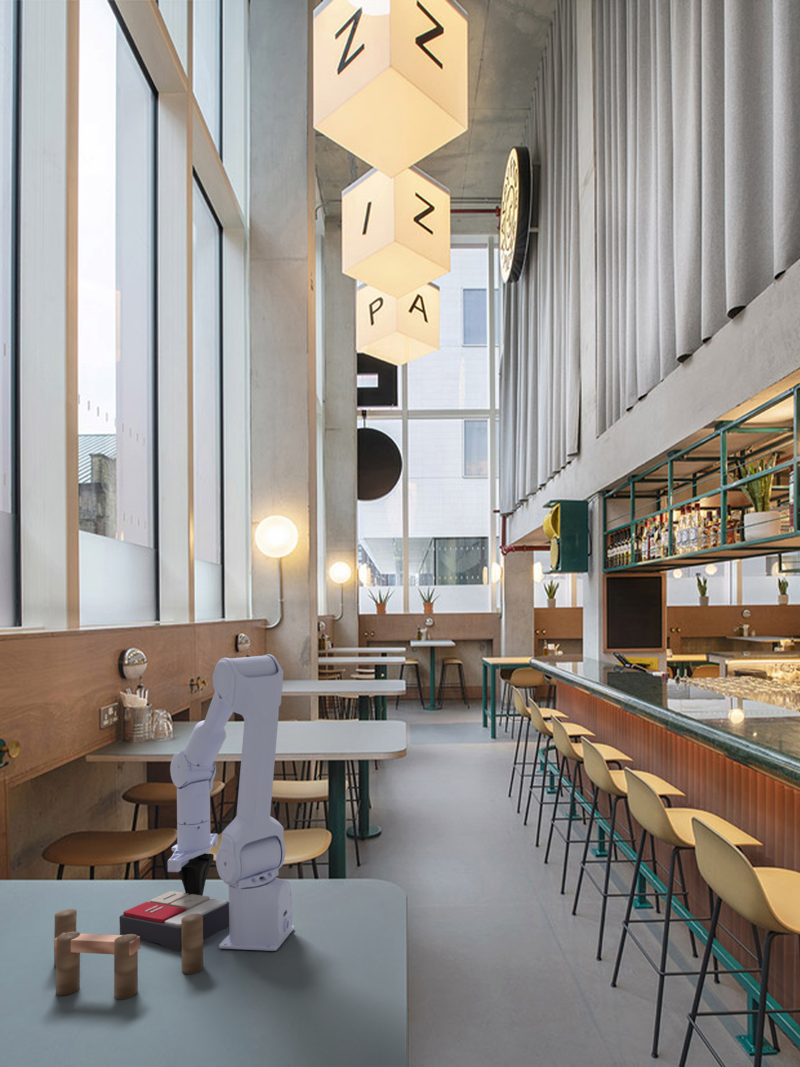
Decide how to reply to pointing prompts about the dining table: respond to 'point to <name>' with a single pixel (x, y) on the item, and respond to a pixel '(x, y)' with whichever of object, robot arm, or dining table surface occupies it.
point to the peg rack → (115, 953)
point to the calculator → (173, 918)
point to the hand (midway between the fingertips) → (194, 900)
